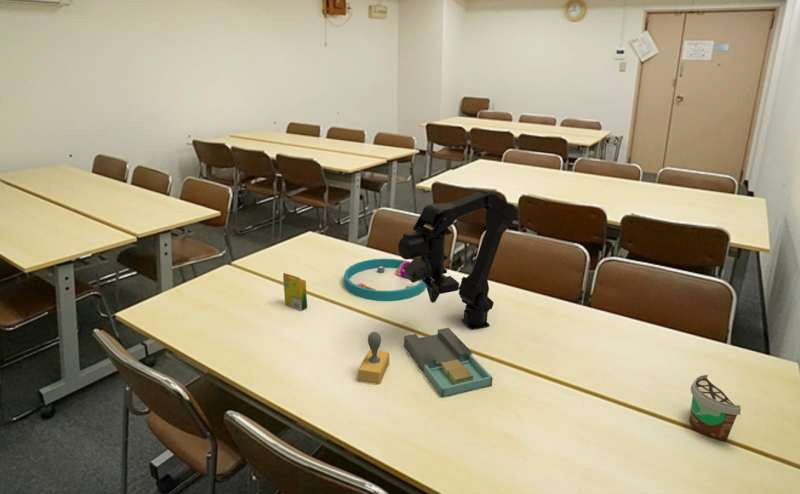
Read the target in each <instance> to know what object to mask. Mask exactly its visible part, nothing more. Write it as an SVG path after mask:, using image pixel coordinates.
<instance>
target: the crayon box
mask: <svg viewBox="0 0 800 494" xmlns="http://www.w3.org/2000/svg"><path fill="white" fill-rule="evenodd" d="M282 275H283V276H282V277H283V279H282V280H283V291H284V293H283V295H284V306H286V307H289V308H293V309H296V310H299V311H300V312H302V311H305V310H306V309H307V308H308V299H307V297H308V295H307V294H308V293H307V281H306V280H305V279H301V277H299V276H295V275H292V274H289V273H285V272H283V274H282Z"/></svg>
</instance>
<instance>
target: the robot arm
mask: <svg viewBox="0 0 800 494" xmlns="http://www.w3.org/2000/svg"><path fill="white" fill-rule="evenodd" d="M422 209H423V210H422V212H421V213H420V215H419V217H418V219H417V220H416V222H415V224H414V226H413V228H412V231H413V232H412V231H411V232H409V233H408V232H406V233H403V234H402V238H400V239H399V241H398V244H397V250H398V252H399V255H400V257H401V258H402V260H403V259H404V261H407V260H411V259H413V260H412V261H410V262H411V263H410V264H409V265H407V266H405V267H404V271H405V274H406V277H407V278H406V277H405V278H406V279H408V280H409V282H411V283H417V282H419V281H420V282H422V281H423V282H424V283H425V284H426V290H427V294H428V297H429V302H431V303H432V304H435V303H436V302H437V299H438V298H439V297H440V294H441V295H442V294H447V293H448V294H449V293H452V292H457V291H458V295H459V297H460V299H461V302H462V303H464V304H465V308H464V310H463V317H462V319H461V321H462V322H463V324H465V325H466V326H467V327H468V328H469V329H470V330H477V329H481V328H487V327H490V323H488V312H490V310H492V309H493V307H494V303H495V302H494V301H493V300H492V299H491V298H490V297H489V291H490V286H489V282H488V279H489V274H490V272H491V269H492V265H493V263H494V260H495V258H496V254H497V251H498V248H499V245H500V242H501V240H502V237H503V234H504V233H505V232H506V231H507V230H508V229H510V228H511V226H512V224H513V223H514V220H515V218H516V216H517V208H516V207H515V205H514V204H513V203H510V202H506V201H505V200H504V199H502V198H500V197H499V196H498V195H496V194H495V193H494V192H491V191H489V190H485V189H479V190H478V191H477V192H474V193H472V194H469V195H466V196H464V197H462V198H459V199H456V200H454V201H451V202H446V203H440V202H439V203H437V202H436V203H432V204H427V205H425V206H424V207H423V208H422ZM481 209H484V210H485V215H484V220H485V225H486V229H485V233H484V235H483V239H482V241H481V245H480V247H479V249H478V253H477V255H476V259H475V261H474V264H473V268H472V271H471V273H470V274H469V275H468V276H467V277H466V276H463V277H462V278H461V281H460V282H459V281H458V280H456V279H455V278H454V277H452V275H448V276H447V275H445V274H447V273H448V269H447V268H446V267H445V261H447V260H448V259H449V258H448V255H447V254H445V253H446V251H445V250H446V236H448V235H452V234H453V231H452V230H451V229H449V227H450V226H452V225H454V224H455V221H456V220H457V219H459V218H462V217H464V216H466V215H469V214H471V213H474V212H476V211H479V210H481ZM426 226H427V227H426ZM428 227H429V228H428ZM430 228H431V229H430ZM418 257H419V258H418Z"/></svg>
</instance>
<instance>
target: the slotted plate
mask: <svg viewBox="0 0 800 494" xmlns="http://www.w3.org/2000/svg"><path fill="white" fill-rule="evenodd" d="M403 347H404V349H405V350H406V351H407V353H408V354H409V355H410V356H411V358H412V360H413V361H414V362H415V363H416V365H417V366H418V368H419V369H420V370H421V371H422V373H423V374H424V365H427V366H428V368H429V369H431V368H436V367H440V366H441V363H443V362H448V361H453V360H457V359H458V360H459V361H460V362H464V361H468V360H469V356H470V355H472V354H473V352H472V350H471V349H469V347H467V345H466V344H465V343H464V342H463V341H462V340H461V339H460V338H459V336H457V335H456V334H455V333H454V332H453V330H452V329H450V327H444V328H439V329H437V333H436V334H430V335H425V336H420V337H419V336H418V335H417V334H416V333H413V334H407V335H404V336H403ZM472 356H473V355H472Z"/></svg>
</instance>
